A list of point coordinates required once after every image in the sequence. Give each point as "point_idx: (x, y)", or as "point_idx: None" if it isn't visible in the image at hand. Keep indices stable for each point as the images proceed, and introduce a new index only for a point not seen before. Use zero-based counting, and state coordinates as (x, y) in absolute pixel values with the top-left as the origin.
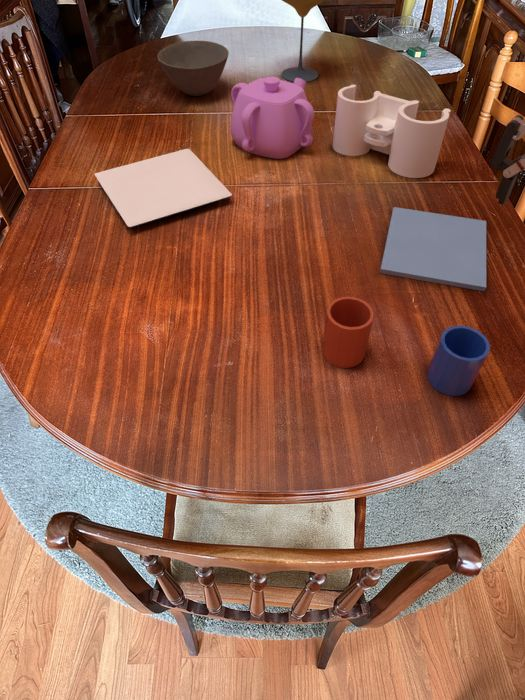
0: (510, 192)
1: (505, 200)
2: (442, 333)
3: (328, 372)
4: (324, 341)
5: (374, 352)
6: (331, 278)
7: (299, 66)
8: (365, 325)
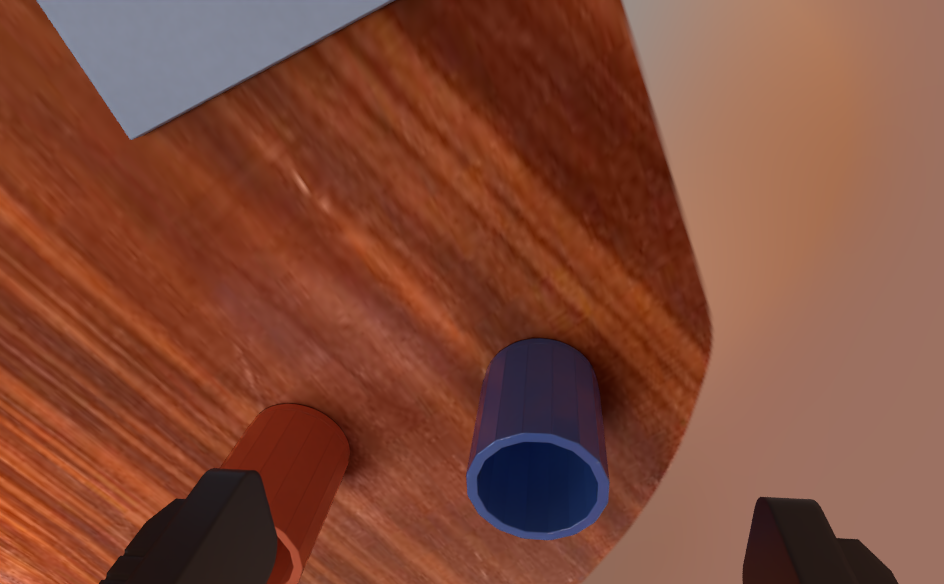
0: (228, 525)
1: (261, 552)
2: (467, 490)
3: None
4: None
5: (353, 411)
6: (76, 253)
7: None
8: (298, 572)
